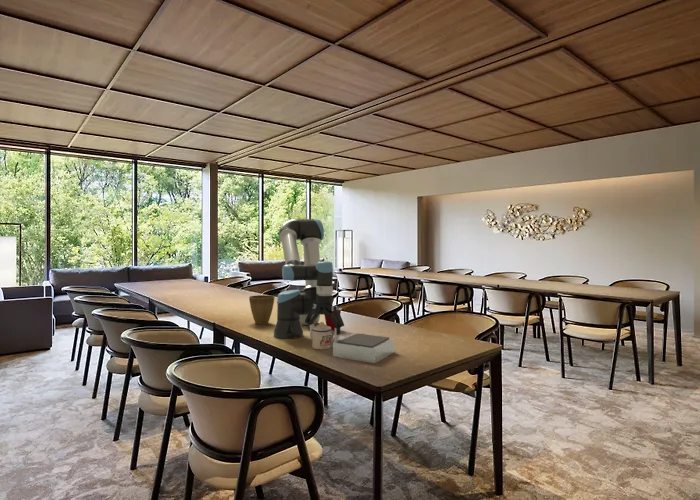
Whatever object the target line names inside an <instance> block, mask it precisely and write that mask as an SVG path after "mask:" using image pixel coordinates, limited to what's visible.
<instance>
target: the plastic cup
mask: <svg viewBox="0 0 700 500" xmlns="http://www.w3.org/2000/svg"><path fill="white" fill-rule="evenodd" d="M338 309H339V313H340V314H342V313H341V312H342V309H343V308H342V307H341V308H340V307H338ZM332 312H333V314H334V311H333V309H332ZM334 316H335V314H334ZM335 317H336V316H335ZM324 319H325V325H327V326H329V327H331V329H332V331H333V332H335V328H336V326H335V325H334V323H333V322H332V320H331V319H330V317H329V316H328V315H324Z"/></svg>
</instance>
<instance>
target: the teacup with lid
mask: <svg viewBox="0 0 700 500" xmlns="http://www.w3.org/2000/svg"><path fill="white" fill-rule="evenodd" d="M312 330H313V338H312V344H311V345H312V348H313V349H314V350H319V349H320V350H321V351H322V350H328V349H331V347H332V341H333V339H334V337H335V331H332V329H331V327H329V326H327V325H326V323H325V322H322V321H321V322H320V321H319V323H318V324H316V326H315V325H314V327H313V328H312Z"/></svg>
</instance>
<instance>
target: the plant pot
mask: <svg viewBox="0 0 700 500" xmlns="http://www.w3.org/2000/svg"><path fill="white" fill-rule="evenodd" d="M248 299H249V300H248V301H249V306H250V311H251V314H252V318H253V321H254V323H255V324H256V325H267V324H269V322H270V319H271V315H272V312H273V308H274V304H275V296H274V295H269V294H268V295H266V294H263V295H261V294H260V295H259V294H257V295H250V296H249V297H248Z"/></svg>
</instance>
